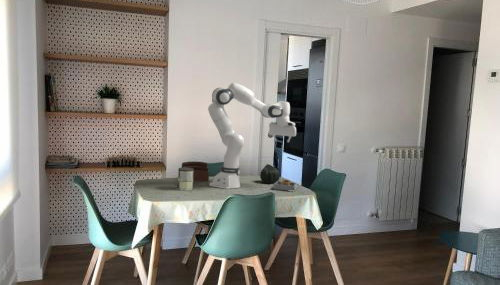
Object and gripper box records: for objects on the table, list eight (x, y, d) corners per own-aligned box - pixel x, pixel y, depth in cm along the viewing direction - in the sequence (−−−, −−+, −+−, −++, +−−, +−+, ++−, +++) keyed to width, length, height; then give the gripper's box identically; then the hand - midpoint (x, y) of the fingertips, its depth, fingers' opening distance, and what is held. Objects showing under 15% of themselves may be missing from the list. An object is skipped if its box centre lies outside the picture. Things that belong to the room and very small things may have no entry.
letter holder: (181, 179, 313) (181, 161, 312) (206, 179, 318) (207, 161, 317) (182, 181, 303) (182, 163, 302) (208, 182, 308) (209, 163, 307)
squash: (281, 178, 308) (279, 161, 317) (262, 178, 306) (260, 161, 315) (278, 187, 320) (276, 171, 329) (259, 188, 318) (257, 171, 326)
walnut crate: (280, 188, 293) (280, 181, 293) (282, 186, 302) (283, 179, 301) (287, 189, 292) (288, 182, 291) (290, 187, 300) (290, 180, 300)
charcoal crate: (273, 189, 293) (273, 184, 292) (277, 186, 305) (277, 181, 305) (293, 191, 289) (294, 186, 288) (296, 188, 301) (297, 183, 301)
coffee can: (174, 188, 280) (175, 167, 279) (187, 186, 287) (187, 166, 286) (183, 191, 273) (184, 170, 271) (195, 189, 280) (196, 169, 279)
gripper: (268, 122, 299) (267, 140, 301) (295, 124, 294) (294, 143, 295) (270, 121, 305) (269, 140, 307) (297, 123, 300) (296, 142, 301)
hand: (281, 141), depth 301 cm, fingers open, 8 cm apart
